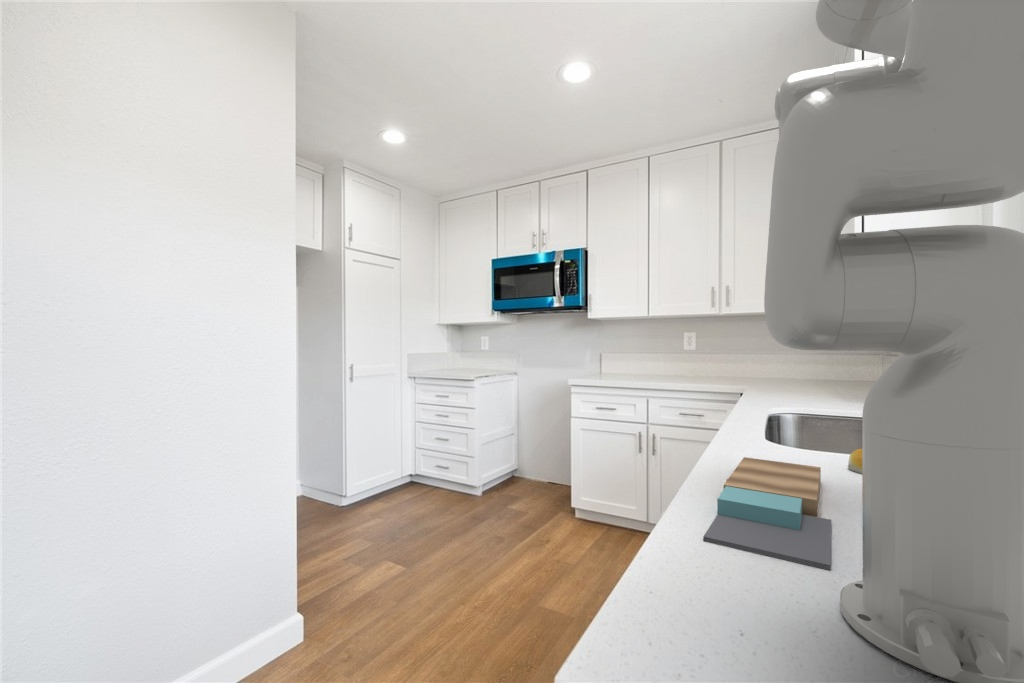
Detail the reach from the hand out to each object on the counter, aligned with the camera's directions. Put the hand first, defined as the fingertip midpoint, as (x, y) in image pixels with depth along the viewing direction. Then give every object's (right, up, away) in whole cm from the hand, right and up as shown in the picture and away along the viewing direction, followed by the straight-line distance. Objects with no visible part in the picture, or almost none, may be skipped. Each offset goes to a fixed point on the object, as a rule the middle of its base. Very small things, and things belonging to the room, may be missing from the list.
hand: (807, 299), depth 71 cm
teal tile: (-14, -28, -12) cm, 33 cm away
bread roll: (+18, -29, +8) cm, 35 cm away
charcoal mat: (-15, -29, -16) cm, 36 cm away
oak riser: (-6, -29, -2) cm, 30 cm away
